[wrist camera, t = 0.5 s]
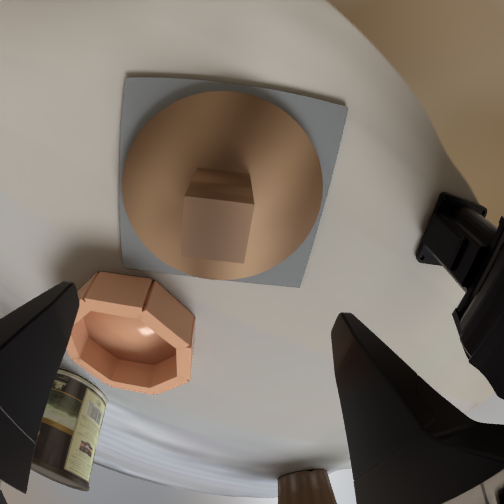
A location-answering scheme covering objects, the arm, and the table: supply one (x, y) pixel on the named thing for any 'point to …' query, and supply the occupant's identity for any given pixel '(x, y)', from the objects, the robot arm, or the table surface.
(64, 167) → the table surface
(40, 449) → the coffee can
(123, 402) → the table surface
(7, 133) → the table surface
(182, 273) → the mat
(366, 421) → the robot arm
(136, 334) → the bowl
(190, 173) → the lid
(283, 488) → the plant pot
